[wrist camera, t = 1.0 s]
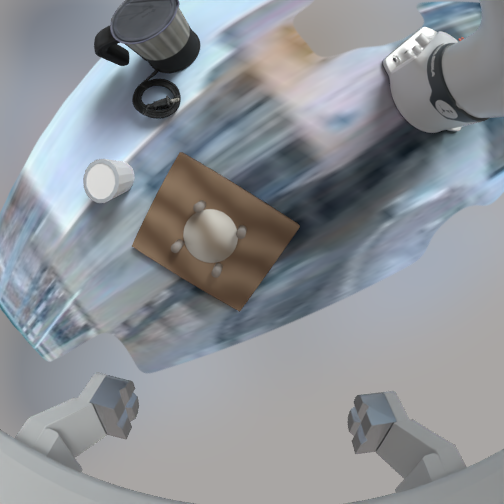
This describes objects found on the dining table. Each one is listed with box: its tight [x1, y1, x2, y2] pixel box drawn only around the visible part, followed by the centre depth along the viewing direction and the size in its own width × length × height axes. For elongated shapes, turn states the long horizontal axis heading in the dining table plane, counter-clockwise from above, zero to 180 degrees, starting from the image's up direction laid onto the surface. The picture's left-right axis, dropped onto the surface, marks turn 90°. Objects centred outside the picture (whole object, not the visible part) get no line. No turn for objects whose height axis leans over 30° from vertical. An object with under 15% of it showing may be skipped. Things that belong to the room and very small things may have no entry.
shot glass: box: [83, 159, 134, 203], centre depth 41 cm, size 7×7×7 cm
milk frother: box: [94, 0, 200, 118], centre depth 32 cm, size 14×16×15 cm
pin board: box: [132, 152, 300, 311], centre depth 45 cm, size 18×22×5 cm
